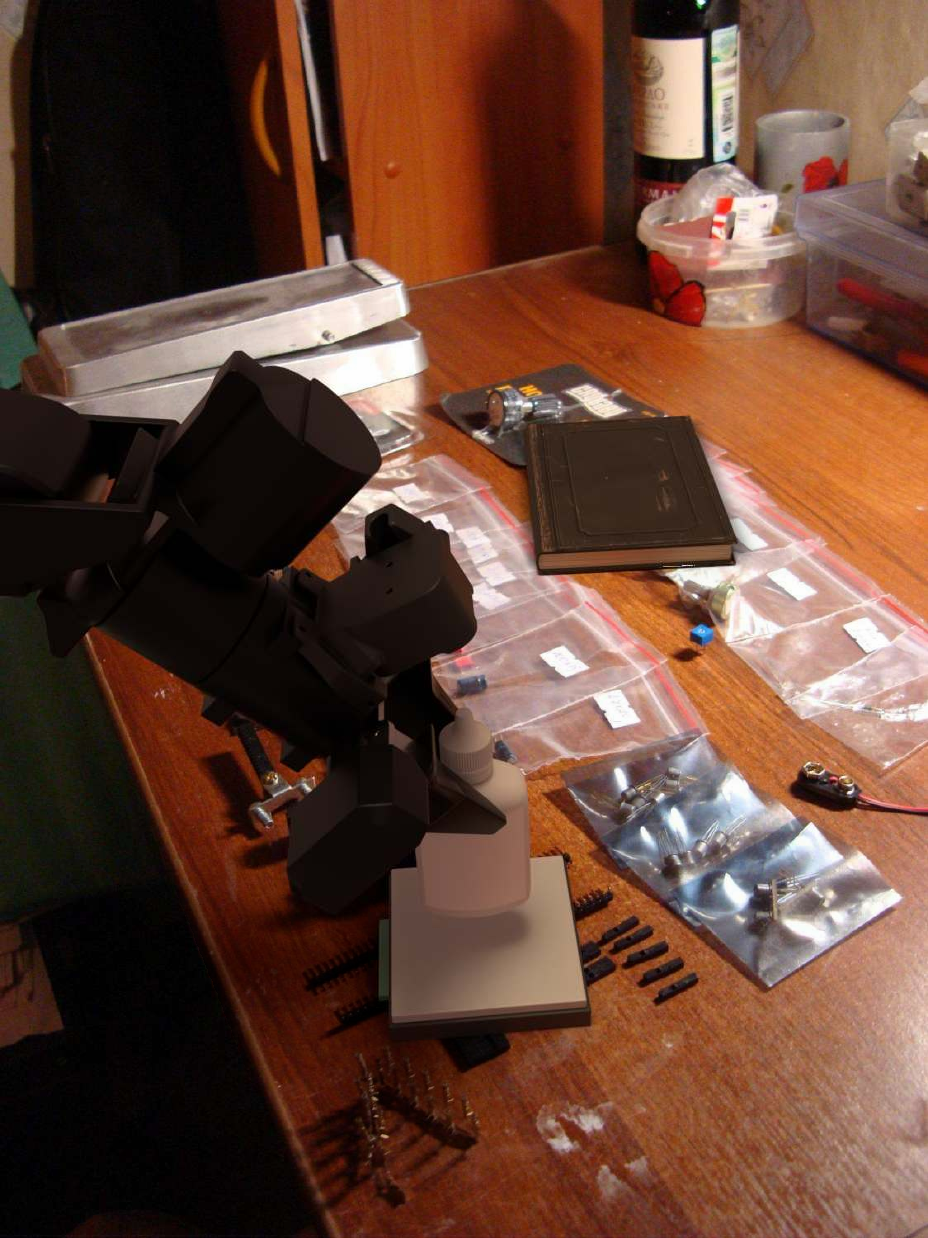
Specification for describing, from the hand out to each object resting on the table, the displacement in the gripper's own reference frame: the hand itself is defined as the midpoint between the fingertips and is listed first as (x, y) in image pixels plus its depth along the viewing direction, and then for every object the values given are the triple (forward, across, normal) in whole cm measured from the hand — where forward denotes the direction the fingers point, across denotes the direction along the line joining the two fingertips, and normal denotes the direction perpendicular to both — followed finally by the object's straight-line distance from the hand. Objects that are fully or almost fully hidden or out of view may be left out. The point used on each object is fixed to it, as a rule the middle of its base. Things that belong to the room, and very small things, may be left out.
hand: (497, 798), depth 55 cm
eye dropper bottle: (+4, 0, +6) cm, 7 cm away
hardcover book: (+19, +49, -1) cm, 52 cm away
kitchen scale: (+8, 0, +10) cm, 12 cm away
